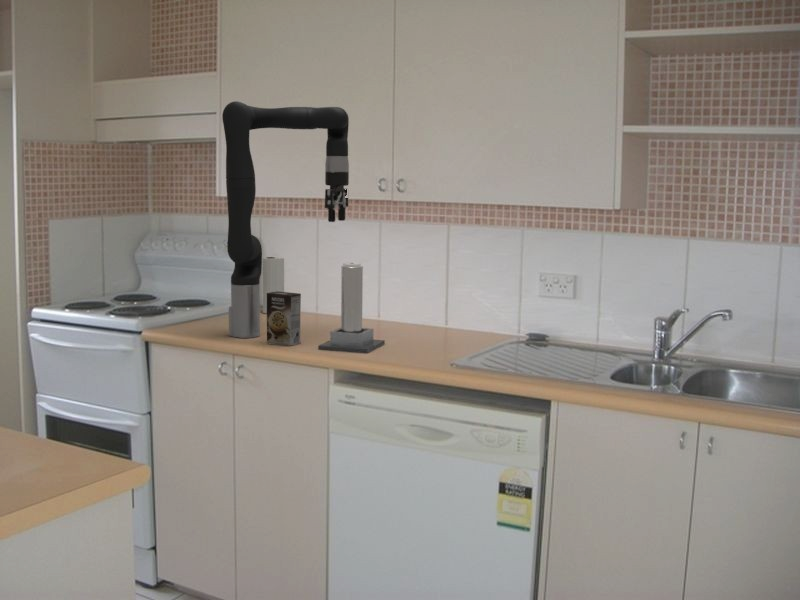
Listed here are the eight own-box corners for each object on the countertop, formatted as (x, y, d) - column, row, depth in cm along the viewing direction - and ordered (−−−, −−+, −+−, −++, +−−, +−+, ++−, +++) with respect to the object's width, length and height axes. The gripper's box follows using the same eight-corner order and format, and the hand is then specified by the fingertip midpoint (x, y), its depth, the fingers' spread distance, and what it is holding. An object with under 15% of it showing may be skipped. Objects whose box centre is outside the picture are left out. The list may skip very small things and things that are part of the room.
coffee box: (265, 343, 282) (265, 292, 279) (277, 340, 287) (276, 290, 285) (290, 346, 278) (290, 295, 275) (301, 343, 283) (301, 292, 281)
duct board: (318, 349, 274) (318, 332, 273) (337, 340, 289) (337, 324, 288) (367, 353, 269) (367, 336, 268) (384, 344, 284) (384, 327, 283)
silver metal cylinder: (359, 345, 275) (359, 264, 271) (338, 344, 276) (339, 263, 272) (364, 341, 281) (364, 262, 278) (344, 340, 282) (344, 261, 279)
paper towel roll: (259, 313, 342) (259, 257, 339) (271, 311, 346) (271, 256, 343) (272, 315, 337) (272, 258, 334) (284, 313, 342) (284, 257, 339)
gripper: (334, 170, 295) (334, 219, 298) (317, 170, 282) (317, 221, 284) (355, 171, 293) (355, 220, 295) (339, 170, 280) (339, 222, 282)
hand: (336, 221), depth 290 cm, fingers open, 8 cm apart
